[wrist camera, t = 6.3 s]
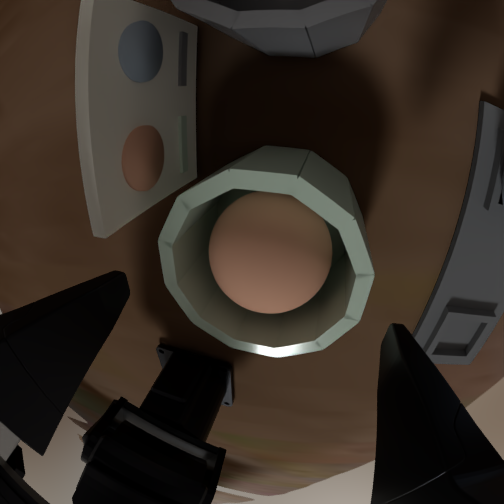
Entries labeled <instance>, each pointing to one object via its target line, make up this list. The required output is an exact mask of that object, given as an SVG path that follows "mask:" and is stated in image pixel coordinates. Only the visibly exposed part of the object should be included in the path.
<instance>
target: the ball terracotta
mask: <svg viewBox="0 0 504 504" xmlns="http://www.w3.org/2000/svg"><path fill="white" fill-rule="evenodd" d="M209 261H210V267H211V270H212V273H213V276H214V278H215V280H216V282H217V284H218V285H219V287H220V288H221V289H222V291H223V292H224V293H225V294H226V295H227V296H228V297H229V298H230V299H231V300H233V301H234V302H235V303H237V304H238V305H240V306H242V307H244V308H246V309H248V310H251V311H255V312H259V313H271V314H273V313H282V312H286V311H290V310H292V309H295V308H297V307H299V306H301V305H303V304H304V303H306V302H307V301H308V300H310V299H311V298H312V297H313V296H314V295H315V294H316V293H317V292H318V291H319V289H320V288H321V287H322V285H323V284H324V282H325V280H326V278H327V275H328V273H329V270H330V267H331V262H332V241H331V236H330V233H329V230H328V227H327V225H326V223H325V222H324V220H323V218H322V217H321V216H320V215H318V214H317V213H316V212H314V211H313V210H312V209H310V208H309V207H307V206H306V205H305V204H303V203H302V202H301V201H299V200H298V199H296V198H295V197H294V196H292V195H289V194H281V193H272V192H264V191H256V192H252V193H249V194H247V195H244V196H242V197H240V198H239V199H237V200H236V201H234V202H233V203H232V204H230V205H229V206H228V207H227V208H226V209H225V210H224V211H223V213H222V214H221V215H220V217H219V218H218V220H217V221H216V223H215V225H214V228H213V230H212V233H211V236H210V242H209Z"/></svg>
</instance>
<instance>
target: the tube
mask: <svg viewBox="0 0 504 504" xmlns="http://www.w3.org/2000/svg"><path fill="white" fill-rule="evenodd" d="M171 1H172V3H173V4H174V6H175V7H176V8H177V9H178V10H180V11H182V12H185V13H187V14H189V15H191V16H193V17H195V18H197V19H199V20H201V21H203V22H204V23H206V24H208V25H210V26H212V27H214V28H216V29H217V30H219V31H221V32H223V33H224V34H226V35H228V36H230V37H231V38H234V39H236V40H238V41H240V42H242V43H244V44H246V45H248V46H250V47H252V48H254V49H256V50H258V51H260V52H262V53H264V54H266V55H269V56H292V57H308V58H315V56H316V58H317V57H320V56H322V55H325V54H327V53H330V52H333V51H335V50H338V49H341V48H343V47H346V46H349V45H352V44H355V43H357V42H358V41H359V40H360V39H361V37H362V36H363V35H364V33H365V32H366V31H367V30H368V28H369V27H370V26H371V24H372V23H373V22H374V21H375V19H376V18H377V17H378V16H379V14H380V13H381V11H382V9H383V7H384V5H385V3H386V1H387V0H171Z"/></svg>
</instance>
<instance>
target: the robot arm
mask: <svg viewBox="0 0 504 504" xmlns="http://www.w3.org/2000/svg"><path fill="white" fill-rule="evenodd" d="M129 296H130V289H129V285H128V281H127V277H126V274H125V273H124V272H121V271H116V270H115V271H112V272H109V273H106V274H104V275H101V276H99V277H96V278H93V279H91V280H88V281H86V282H83V283H80V284H78V285H75V286H73V287H70V288H68V289H65V290H63V291H60V292H58V293H55V294H53V295H50V296H48V297H45V298H43V299H40V300H38V301H36V302H33V303H30V304H28V305H25V306H23V307H20V308H18V309H15V310H12V311H10V312H7V313H4V314H1V315H0V504H50V503H48V502H47V501H46V500H45V499H44V498H43V497H41V496H40V495H39V494H38V493H37V492H36V491H35V490H33V488H31V487H30V486H29V485H28V484H27V483H26V482H25V481H24V480H23V477H24V475H25V469H24V462H23V454H22V448H21V447H20V446H19V445H18V443H19V442H20V440H22V441H23V442H24V443H26V444H27V445H28V446H29V447H31V448H32V449H33V450H35V451H36V452H37V453H39V454H40V455H41V456H43V455H44V453H45V451H46V449H47V447H48V445H49V443H50V441H51V439H52V437H53V434H54V432H55V430H56V428H57V426H58V424H59V422H60V420H61V419H62V417H63V414H64V412H65V411H66V409H67V407H68V405H69V403H70V401H71V399H72V398H73V396H74V394H75V392H76V390H77V388H78V387H79V385H80V383H81V381H82V380H83V378H84V376H85V374H86V373H87V371H88V369H89V367H90V366H91V364H92V362H93V361H94V359H95V357H96V356H97V354H98V352H99V351H100V349H101V347H102V346H103V344H104V342H105V341H106V339H107V338H108V336H109V334H110V333H111V331H112V329H113V327H114V325H115V324H116V322H117V320H118V318H119V316H120V314H121V312H122V310H123V308H124V306H125V304H126V302H127V300H128V298H129ZM156 350H157V353H158V357H159V360H160V363H161V366H162V371H161V372H160V374H159V376H158V377H157V379H156V381H155V382H154V384H153V386H152V387H151V390H150V391H149V393H148V394H147V396H146V398H145V399H144V401H143V403H142V404H141V406H140V408H138V407H136V406H134V405H133V404H131V403H129V402H128V400H127V399H125V398H123V397H120V399H119V400H115V399H114V400H113V402H112V403H111V405H110V406H109V408H108V409H107V411H106V412H105V413H104V415H103V416H102V417H101V418H100V419H99V420H98V421H97V422H96V423H95V424H94V425H93V426H92V427H91V428H90V429H89V430H88V431H87V432H86V433H85V434H84V436H83V437H82V440H83V443H84V448H83V452H82V455H81V460H82V461H84V462H85V463H86V466H85V468H84V471H83V473H82V475H81V477H80V480H79V482H78V485H77V487H76V491H75V493H74V495H73V497H72V501H73V504H211V502H212V500H213V498H214V495H215V492H216V488H217V484H218V481H219V477H220V473H221V469H222V465H223V462H224V458H225V454H226V449H223V448H221V447H219V448H218V447H216V446H213V445H211V444H209V443H206V440H207V437H208V435H209V432H210V430H211V428H212V425H213V423H214V421H215V418H216V416H217V413H218V411H219V409H220V406H221V405H225V406H232V404H233V402H234V401H233V380H232V366H231V365H230V364H228V363H226V362H222V361H218V360H214V359H210V358H207V357H203V356H199V355H196V354H192V353H189V352H186V351H182V350H179V349H176V348H172V347H169V346H166V345H163V344H159V345H158V347H157V348H156ZM371 504H504V460H503V459H502V458H501V456H500V455H499V454H498V452H497V451H496V450H495V448H494V447H493V446H492V445H491V443H490V442H489V441H488V439H487V438H486V437H485V435H484V434H483V433H482V431H481V430H480V429H479V427H478V426H477V425H476V423H475V422H474V420H473V419H472V417H471V416H470V415H469V413H468V412H467V410H466V409H465V407H464V406H463V404H462V403H460V400H459V398H458V397H457V396H456V394H455V393H454V391H453V390H452V388H451V387H450V385H449V384H448V383H447V381H446V380H445V378H444V377H443V376H442V374H441V373H440V372H439V370H438V369H437V367H436V366H435V365H434V363H433V362H432V361H431V359H430V358H429V357H428V355H427V354H426V353H425V351H424V350H423V349H422V347H421V346H420V345H419V343H418V342H417V341H416V340H415V338H414V337H413V336H412V334H411V333H410V332H409V331H408V329H407V328H406V327H405V326H404V325H403V324H397V323H392V324H390V326H389V328H388V330H387V332H386V334H385V337H384V339H383V341H382V344H381V351H380V366H379V378H378V389H377V439H376V457H375V470H374V481H373V490H372V498H371Z"/></svg>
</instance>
